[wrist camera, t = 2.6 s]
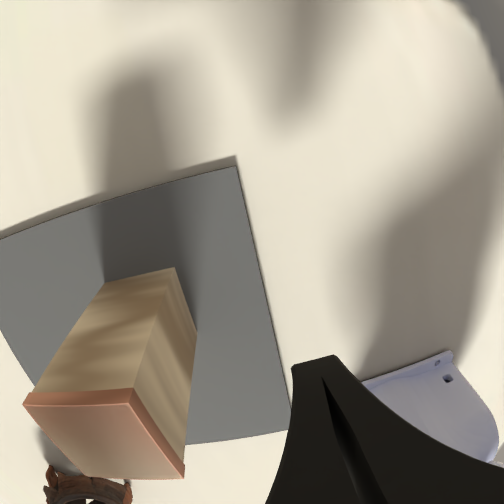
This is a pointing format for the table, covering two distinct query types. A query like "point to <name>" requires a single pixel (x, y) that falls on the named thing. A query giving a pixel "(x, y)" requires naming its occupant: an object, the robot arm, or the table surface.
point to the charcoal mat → (149, 260)
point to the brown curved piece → (84, 490)
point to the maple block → (123, 382)
